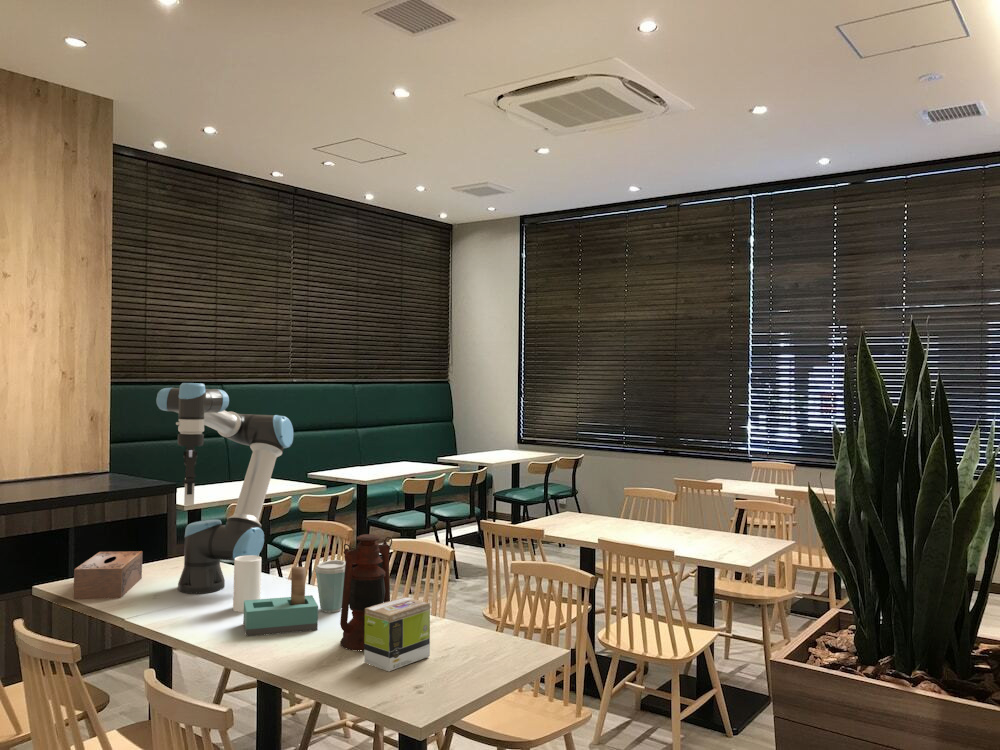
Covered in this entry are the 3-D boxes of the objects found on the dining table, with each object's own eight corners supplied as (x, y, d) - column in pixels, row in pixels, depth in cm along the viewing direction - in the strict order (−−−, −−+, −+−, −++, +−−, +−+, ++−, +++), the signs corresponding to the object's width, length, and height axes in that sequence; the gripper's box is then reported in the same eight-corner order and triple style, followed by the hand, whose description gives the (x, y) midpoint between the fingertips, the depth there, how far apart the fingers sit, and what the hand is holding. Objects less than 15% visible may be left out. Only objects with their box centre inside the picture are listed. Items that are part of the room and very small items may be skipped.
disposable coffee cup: (328, 616, 243) (330, 568, 243) (306, 610, 249) (307, 562, 249) (354, 609, 251) (355, 562, 251) (332, 603, 258) (333, 557, 258)
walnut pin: (289, 617, 235) (291, 567, 235) (303, 616, 236) (304, 566, 237) (291, 621, 231) (292, 570, 231) (305, 620, 233) (306, 569, 233)
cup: (264, 605, 253) (265, 555, 253) (253, 612, 245) (255, 561, 245) (239, 604, 254) (241, 554, 254) (228, 611, 246) (229, 560, 246)
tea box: (404, 648, 216) (405, 595, 216) (430, 657, 210) (431, 602, 210) (362, 663, 205) (364, 606, 205) (388, 673, 198) (390, 614, 198)
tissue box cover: (98, 579, 280) (99, 551, 280) (141, 579, 282) (142, 551, 282) (73, 600, 254) (74, 569, 254) (120, 599, 257) (121, 568, 257)
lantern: (355, 656, 209) (358, 544, 209) (325, 643, 219) (327, 536, 219) (405, 641, 222) (408, 535, 222) (374, 630, 231) (377, 528, 232)
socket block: (243, 623, 234) (243, 600, 234) (311, 618, 241) (312, 595, 241) (246, 636, 223) (246, 611, 223) (317, 630, 230) (318, 606, 230)
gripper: (178, 430, 252) (176, 496, 252) (177, 435, 229) (175, 508, 229) (203, 430, 255) (201, 495, 255) (204, 435, 232) (202, 507, 232)
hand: (189, 501), depth 242 cm, fingers open, 13 cm apart
